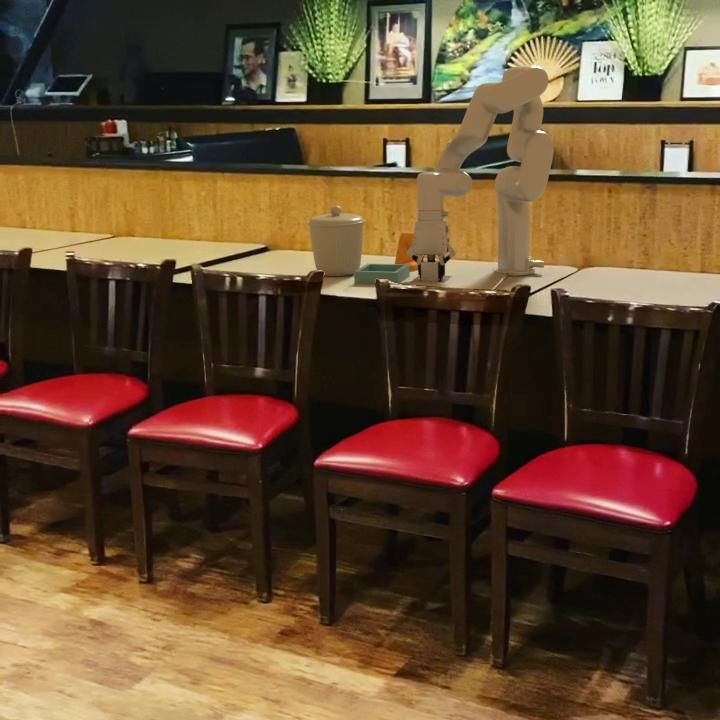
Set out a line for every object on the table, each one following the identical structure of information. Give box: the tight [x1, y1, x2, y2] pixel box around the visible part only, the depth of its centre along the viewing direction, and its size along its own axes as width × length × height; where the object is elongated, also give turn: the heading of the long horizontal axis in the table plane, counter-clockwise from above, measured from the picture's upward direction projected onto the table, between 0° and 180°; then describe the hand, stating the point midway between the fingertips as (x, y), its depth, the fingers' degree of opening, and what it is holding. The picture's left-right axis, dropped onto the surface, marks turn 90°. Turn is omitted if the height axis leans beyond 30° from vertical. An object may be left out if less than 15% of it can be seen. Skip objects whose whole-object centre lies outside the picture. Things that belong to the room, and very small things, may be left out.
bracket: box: [394, 230, 426, 272], centre depth 325 cm, size 11×7×12 cm, turn 142°
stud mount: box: [410, 275, 453, 284], centre depth 307 cm, size 10×10×5 cm
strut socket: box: [421, 255, 440, 281], centre depth 306 cm, size 5×5×8 cm
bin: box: [353, 263, 411, 285], centre depth 308 cm, size 13×13×4 cm
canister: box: [306, 205, 367, 277], centre depth 322 cm, size 18×18×21 cm
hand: (431, 277), depth 307 cm, fingers closed on strut socket, 5 cm apart
